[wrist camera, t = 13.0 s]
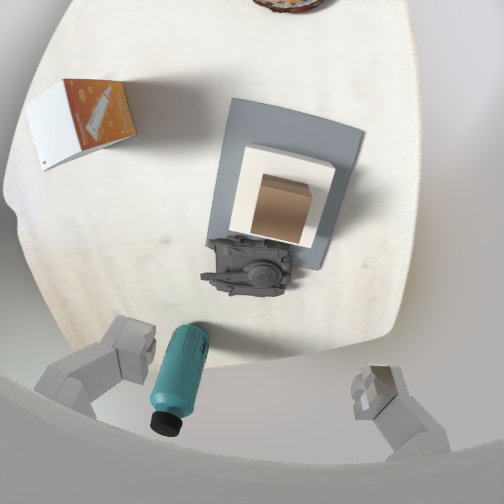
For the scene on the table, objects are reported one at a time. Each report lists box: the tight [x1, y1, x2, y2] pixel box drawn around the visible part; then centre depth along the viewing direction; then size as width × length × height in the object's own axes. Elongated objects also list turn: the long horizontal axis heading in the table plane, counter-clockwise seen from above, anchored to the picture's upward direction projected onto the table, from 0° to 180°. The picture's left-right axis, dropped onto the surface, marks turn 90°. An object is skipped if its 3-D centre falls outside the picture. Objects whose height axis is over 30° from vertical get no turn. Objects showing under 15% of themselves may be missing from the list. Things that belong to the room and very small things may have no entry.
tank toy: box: [200, 235, 292, 298], centre depth 41 cm, size 12×10×5 cm
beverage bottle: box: [150, 325, 210, 437], centre depth 41 cm, size 6×7×20 cm
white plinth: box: [229, 143, 335, 248], centre depth 35 cm, size 10×10×4 cm
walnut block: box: [250, 174, 313, 244], centre depth 31 cm, size 5×5×5 cm
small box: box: [25, 79, 137, 172], centre depth 28 cm, size 8×6×13 cm
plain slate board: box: [206, 98, 363, 271], centre depth 37 cm, size 20×16×1 cm
